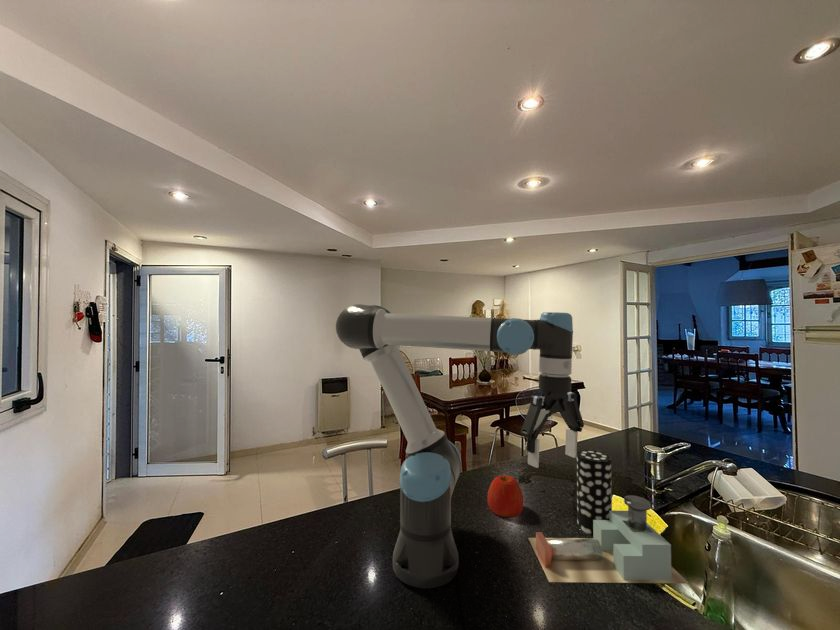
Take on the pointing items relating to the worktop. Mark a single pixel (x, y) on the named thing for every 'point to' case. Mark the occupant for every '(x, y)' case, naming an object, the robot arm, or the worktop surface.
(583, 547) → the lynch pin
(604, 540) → the block
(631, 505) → the plunger
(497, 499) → the apple
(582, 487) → the white-spotted black cylinder
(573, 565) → the base board
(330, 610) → the worktop surface
